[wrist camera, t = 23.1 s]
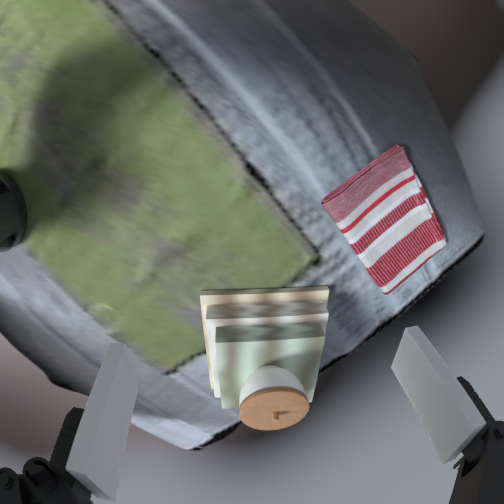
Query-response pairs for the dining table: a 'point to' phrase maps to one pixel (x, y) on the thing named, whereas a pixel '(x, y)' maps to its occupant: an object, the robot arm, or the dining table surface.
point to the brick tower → (263, 335)
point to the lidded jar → (272, 399)
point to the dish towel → (387, 218)
